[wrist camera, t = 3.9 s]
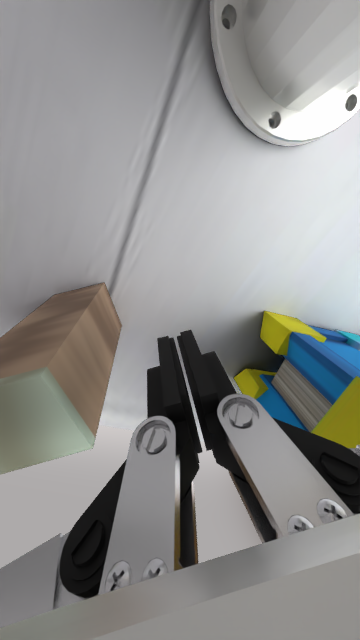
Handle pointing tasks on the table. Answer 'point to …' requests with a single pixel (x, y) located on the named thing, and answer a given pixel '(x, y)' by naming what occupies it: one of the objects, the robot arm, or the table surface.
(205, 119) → the table surface
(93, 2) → the table surface
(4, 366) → the walnut block
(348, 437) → the decorative book
